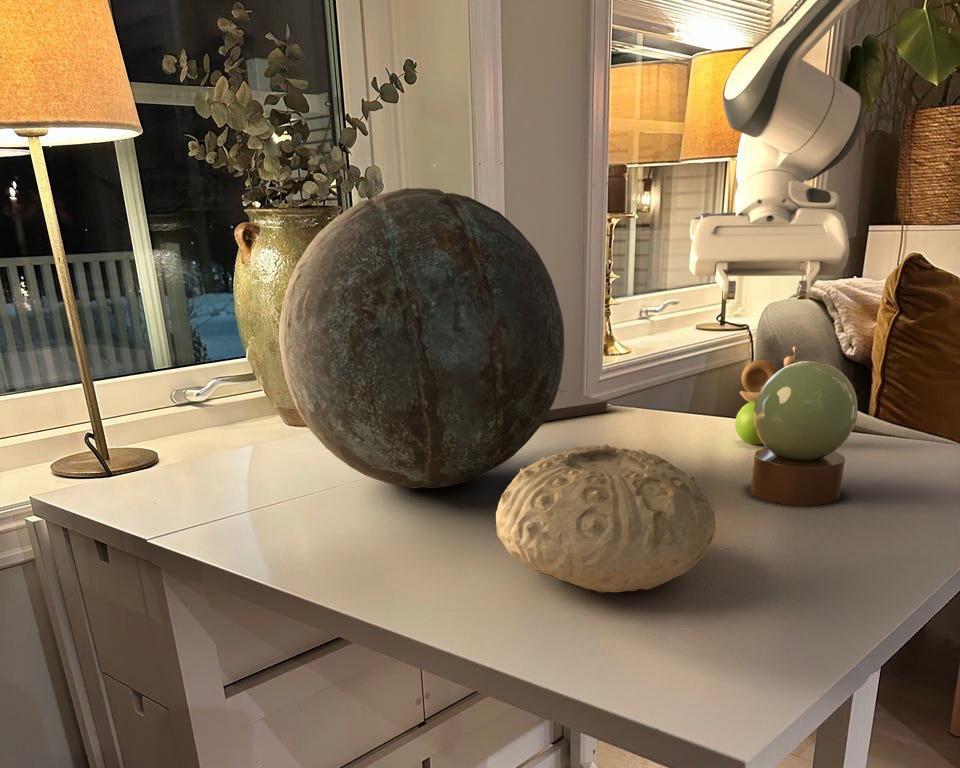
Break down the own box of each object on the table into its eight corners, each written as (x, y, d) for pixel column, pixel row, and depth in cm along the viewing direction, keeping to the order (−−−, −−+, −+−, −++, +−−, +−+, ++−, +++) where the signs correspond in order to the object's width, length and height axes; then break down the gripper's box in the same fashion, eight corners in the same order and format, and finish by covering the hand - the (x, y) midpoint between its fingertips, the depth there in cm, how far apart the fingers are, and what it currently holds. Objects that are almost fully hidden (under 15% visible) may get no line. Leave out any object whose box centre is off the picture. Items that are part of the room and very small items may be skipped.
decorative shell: (750, 570, 77) (764, 452, 73) (629, 639, 66) (636, 504, 61) (581, 527, 88) (584, 423, 84) (452, 579, 77) (447, 461, 72)
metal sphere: (508, 442, 121) (505, 188, 108) (607, 504, 95) (620, 180, 82) (279, 465, 112) (247, 193, 99) (321, 540, 86) (285, 186, 74)
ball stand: (783, 475, 103) (799, 351, 98) (863, 494, 96) (885, 361, 90) (726, 491, 98) (738, 361, 92) (806, 513, 91) (825, 373, 85)
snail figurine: (786, 449, 114) (798, 349, 108) (733, 448, 115) (742, 348, 110) (784, 439, 118) (796, 343, 113) (733, 438, 120) (742, 342, 115)
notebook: (485, 430, 127) (606, 411, 137) (484, 419, 126) (607, 400, 136) (441, 415, 137) (557, 398, 146) (440, 404, 136) (557, 388, 146)
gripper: (691, 196, 123) (686, 280, 119) (851, 193, 119) (852, 279, 115) (688, 231, 129) (683, 312, 124) (841, 229, 125) (841, 312, 121)
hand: (766, 296), depth 120 cm, fingers open, 8 cm apart
